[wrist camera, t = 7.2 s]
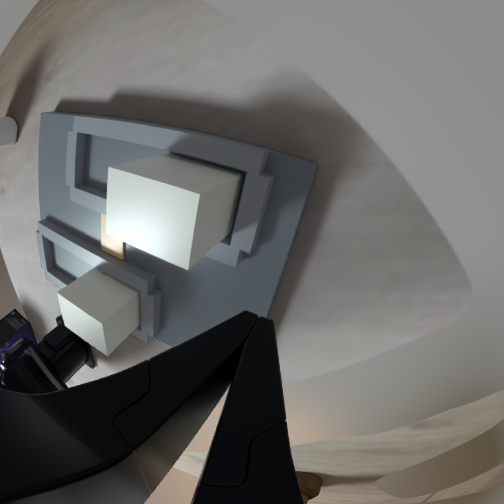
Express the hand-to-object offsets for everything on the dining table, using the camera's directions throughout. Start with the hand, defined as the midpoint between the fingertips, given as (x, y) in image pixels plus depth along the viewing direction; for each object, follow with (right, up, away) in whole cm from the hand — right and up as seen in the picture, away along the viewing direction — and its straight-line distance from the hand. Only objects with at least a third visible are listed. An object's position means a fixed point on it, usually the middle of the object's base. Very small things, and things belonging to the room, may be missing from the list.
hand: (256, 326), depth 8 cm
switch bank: (-10, +4, +13) cm, 17 cm away
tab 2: (-3, +6, +9) cm, 11 cm away
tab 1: (-11, -1, +14) cm, 18 cm away
